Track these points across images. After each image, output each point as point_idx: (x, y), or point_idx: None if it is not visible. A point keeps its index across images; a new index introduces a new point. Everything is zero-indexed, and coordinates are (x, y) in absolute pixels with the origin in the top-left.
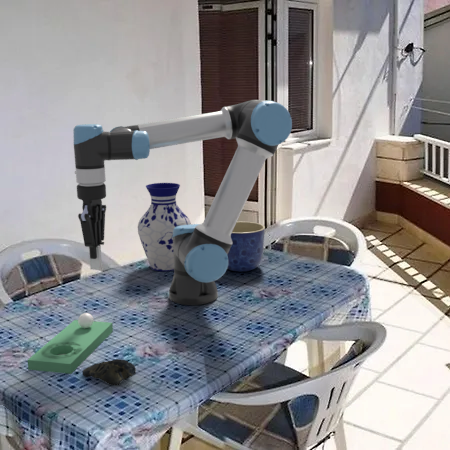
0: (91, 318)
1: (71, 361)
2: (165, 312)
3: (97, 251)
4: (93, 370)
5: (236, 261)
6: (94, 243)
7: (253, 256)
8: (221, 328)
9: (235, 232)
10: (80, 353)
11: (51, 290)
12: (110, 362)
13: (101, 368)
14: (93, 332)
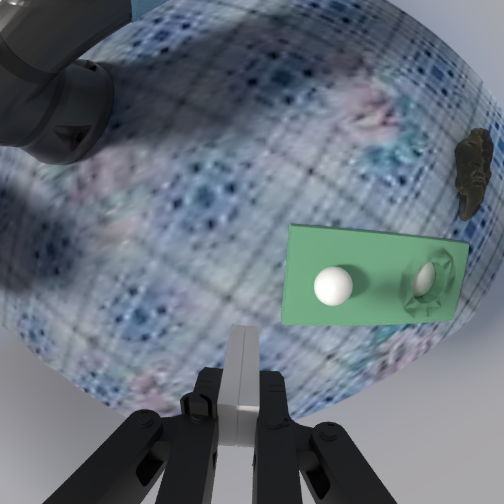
0: (340, 271)
1: (463, 246)
2: (155, 133)
3: (257, 390)
4: (481, 197)
5: None
6: (328, 436)
7: None
8: (238, 9)
9: None
10: (441, 241)
11: (109, 405)
12: (488, 168)
13: (487, 183)
14: (354, 252)
